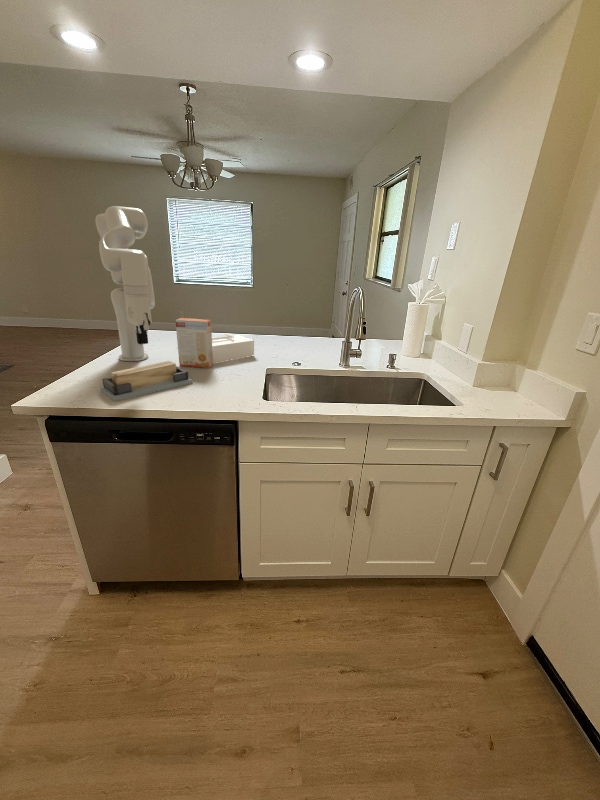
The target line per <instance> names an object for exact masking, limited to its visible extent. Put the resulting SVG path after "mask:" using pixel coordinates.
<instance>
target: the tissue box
mask: <svg viewBox="0 0 600 800" xmlns="http://www.w3.org/2000/svg"><path fill="white" fill-rule="evenodd" d="M212 351H213V363H214V364H217V363H216V362H220V363H222V362H221V361H225V362H227V361H226V360H231V359H236V360H238V359H237V358H242V357H247V356H252V355H254V356H255V339H251V338H247V337H246V336H242V335H239V334H235V335H232V334H230V333H225V334H224V336H217V337H212ZM247 358H248V357H247ZM242 359H243V358H242ZM231 361H232V360H231Z"/></svg>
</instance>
